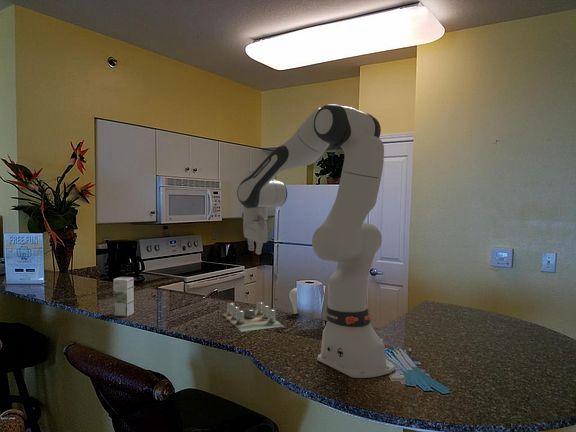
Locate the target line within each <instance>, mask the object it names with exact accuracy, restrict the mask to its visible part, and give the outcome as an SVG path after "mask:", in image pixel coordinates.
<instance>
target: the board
mask: <svg viewBox="0 0 576 432" xmlns="http://www.w3.org/2000/svg"><path fill="white" fill-rule="evenodd" d="M222 315H223V317H225V318H226V320H228V321H229V322H230V323H231V324H232V325H233V326H234V327H235V328H236V329H237V330H239V331H240V333H241V332H250V331H258V330H265V329H273V328H282V327H285V325H284V324H282V323H281V322H279V321H278V320H277V319H275V323H273V324H271V323H268V319H262V315H257V309H255V318H254V319H244V324H242V325H238V324H236V320H231V316H227V312H226V313H222Z"/></svg>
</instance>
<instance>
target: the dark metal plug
mask: <svg viewBox="0 0 576 432" xmlns="http://www.w3.org/2000/svg"><path fill="white" fill-rule="evenodd" d="M255 310H256V309H255V308H252V307H251V308H249V307H247V308H243V311H244V319H254V318H255Z"/></svg>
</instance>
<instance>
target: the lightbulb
mask: <svg viewBox="0 0 576 432" xmlns="http://www.w3.org/2000/svg"><path fill="white" fill-rule="evenodd" d="M297 288H298V287H294V288H293V289H291V290H290V292H289V295H288V297H289V300H290V302H291V304H292V309H293V315H294V314H296V313H297Z"/></svg>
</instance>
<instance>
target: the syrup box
mask: <svg viewBox="0 0 576 432" xmlns="http://www.w3.org/2000/svg"><path fill="white" fill-rule="evenodd" d="M134 280H135V279H134V276H133V277H132V276H131V277H130V276H119V277H118V276H117V277H116V278H114V279H113V281H112V283H113V284H112V285H113V287H112V288H113V289H112V290H113V291H112V292H113V294H112V296H113V317H129V315H130V316H131V315H133V314H134V313H135V308H134V307H135V305H134V301H135V300H134V294H135V293H134V287H135V286H134Z"/></svg>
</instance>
